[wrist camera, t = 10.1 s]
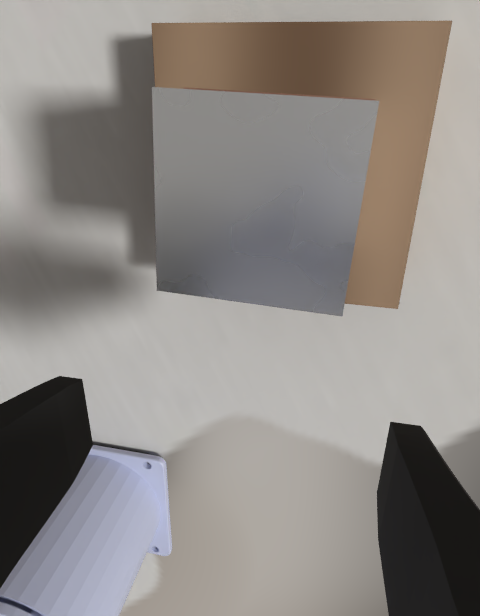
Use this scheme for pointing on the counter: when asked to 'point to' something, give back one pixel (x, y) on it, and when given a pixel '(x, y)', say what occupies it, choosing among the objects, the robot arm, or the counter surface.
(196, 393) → the counter surface
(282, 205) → the steel tea tin
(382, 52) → the walnut block
